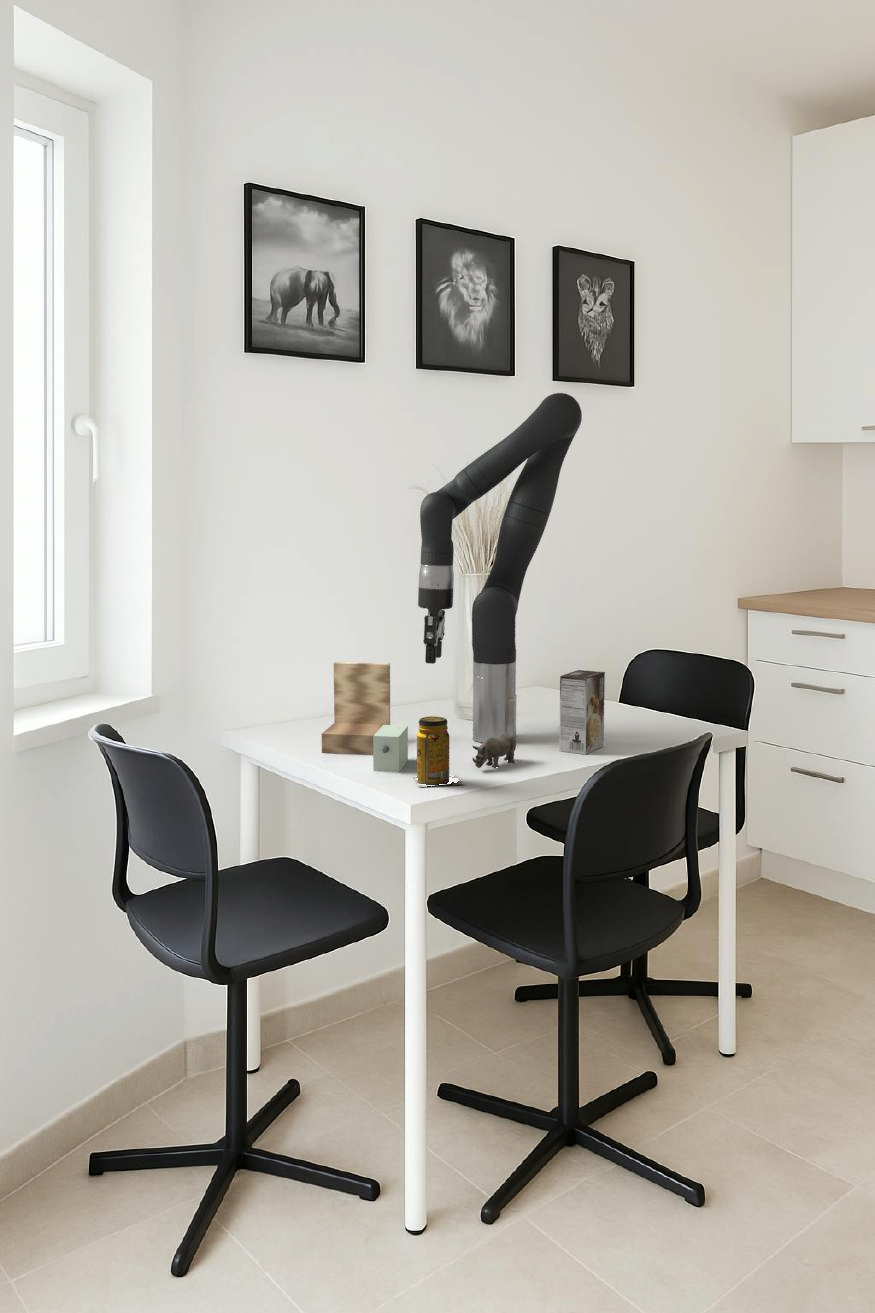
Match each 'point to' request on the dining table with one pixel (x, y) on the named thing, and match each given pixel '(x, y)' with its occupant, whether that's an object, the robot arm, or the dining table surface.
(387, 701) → the wall board
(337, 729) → the ledge
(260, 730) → the dining table surface
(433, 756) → the condiment
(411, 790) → the dining table surface
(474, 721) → the robot arm
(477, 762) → the rhino figurine
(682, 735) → the dining table surface
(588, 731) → the coffee box
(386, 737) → the mint green tall box
